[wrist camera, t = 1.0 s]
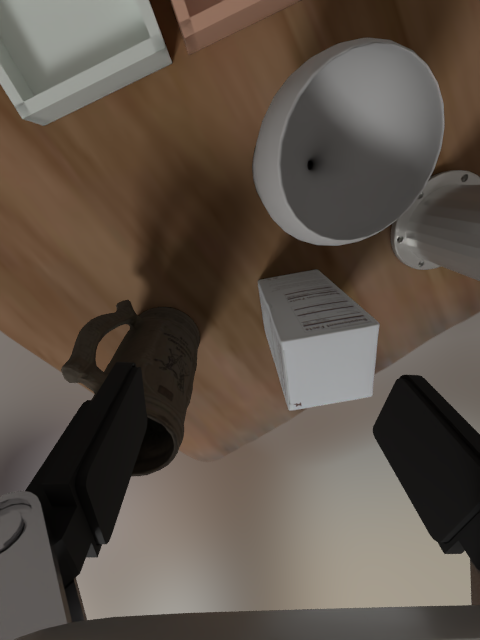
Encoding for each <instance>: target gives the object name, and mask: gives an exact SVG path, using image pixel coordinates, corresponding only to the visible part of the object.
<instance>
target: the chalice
mask: <svg viewBox="0 0 480 640" xmlns="http://www.w3.org/2000/svg"><path fill="white" fill-rule="evenodd" d="M443 132H444V104H443V100H442V97H441V93H440V89H439V85H438V82H437V81H436V79H435V77H434V75H433V73H432V72H431V70H430V68H429V66H428V65H427V64H426V63H425V62H424V61H423V60H422V59H421V58H420V57H419V56H418V55H417V54H416V53H415V52H414V51H413V50H411V49H409V48H406V47H404V46H402V45H400V44H398V43H396V42H394V41H391V40H386V39H377V38H360V39H356V40H351V41H347V42H342V43H339V44H336V45H334V46H332V47H330V48H328V49H326V50H324V51H322V52H320V53H319V54H317V55H315V56H313V57H311V58H310V59H309V60H307V61H306V62H305V63H304V64H303V65H302V66H300V67H299V68H298V69H297V70H296V71H295V72H294V73H293V74H291V75H290V76H289V77H288V79H287V80H286V81H285V83H284V84H283V85H282V87H281V88H280V89H279V91H278V92H277V93H276V95H275V96H274V98H273V100H272V102H271V104H270V106H269V108H268V110H267V113H266V115H265V117H264V119H263V121H262V125H261V128H260V132H259V136H258V139H257V143H256V148H255V151H254V156H253V165H252V168H253V180H254V183H255V187H256V191H257V193H258V195H259V196H260V198H261V200H262V202H263V204H264V206H265V208H266V209H267V211H268V213H269V214H270V216H271V218H272V219H273V220H274V221H275V222H276V223H277V224H278V225H279V226H280V227H281V228H282V229H283V230H284V231H285V232H286V233H288V234H290V235H292V236H293V237H295V238H297V239H298V240H301V241H305V242H308V243H311V244H315V245H329V246H339V245H344V244H349V243H354V242H358V241H361V240H363V239H366V238H368V237H370V236H373V235H375V234H377V233H379V232H380V231H382V230H383V229H385V228H386V227H388V226H389V225H391V224H392V223H394V222H395V221H396V220H397V219H398V218H400V217H401V216H402V215H403V214H404V213H405V212H406V211H407V210H408V209H409V208H410V207H411V206H412V204H413V203H414V202H415V200H416V199H417V198H418V196H419V195H420V193H421V192H422V191H423V189H424V188H425V186H426V184H427V182H428V180H429V178H430V176H431V174H432V172H433V170H434V168H435V165H436V162H437V159H438V156H439V153H440V150H441V146H442V139H443Z"/></svg>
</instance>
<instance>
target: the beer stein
mask: <svg viewBox="0 0 480 640" xmlns="http://www.w3.org/2000/svg"><path fill="white" fill-rule="evenodd" d="M116 307H117V311H116V312H115V313H110V314H105V315H101V316H98V317H96V318H94V319H92V320H91V321H89V322H88V323H87V324H86V325H85V326H84V327H83V328H82V329H81V331H80V332H79V334H78V337H77V339H76V342H75V345H74V348H73V352H72V355H71V357H70V359H69V360H68V361H67V362H66V363H65V364H64V365H63V367H62V369H61V371H62V374H63V376H64V378H65V379H66V380H67V381H68V382H69V383H82V384H84V385H85V386H86V387H88V388H89V389H91V390H92V391H94V393H95V395H96V394H97V392H98V391H99V389H100V387H101V386H102V384H103V383H104V381H105V379H106V378H107V376H108V374H109V373H110V371H111V370H112V368H113V366H114V365H115V363H116V362H134V363H135V364H136V367H141V370H142V379H143V387H144V395H145V404H146V412H147V429H146V432H145V435H144V438H143V441H142V444H141V447H140V451H139V454H138V457H137V460H136V463H135V466H134V469H133V472H132V475H131V476H142V475H148V474H151V473H153V472H156V471H158V470H161V469H162V468H164V467H165V466H167V465H168V464H169V463H170V462H171V461H172V460H173V459H174V458H175V456H176V454H177V453H178V450H179V447H180V445H181V443H182V440H183V436H184V421H185V415H186V410H187V407H188V405H189V403H190V399H191V394H192V390H193V380H194V374H195V371H196V366H197V349H198V347H199V341H200V336H199V331H198V328H197V326H196V325H195V323H194V321H193V320H192V319H191V318H190V317H188V316H187V315H186V314H185V313H183V312H181V311H179V310H176V309H173V308H169V307H158V308H152V309H149V310H147V311H145V312H143V313H142V314H140V315H139V316H137V314H136V313H135V311H134V309H133V307H132V305H131V302H130V301H129V300H125V301H122V302H119V303H117V305H116ZM123 324H128V325H129V326H130V330H129V331H128V332H127V334H126V335H125V337H124V339H123V340H122V342H121V344H120V345H119V347H118V349H117V351H116V353H115V354H114V356H113V358H112V360H111V361H110V363H109V364H108V366H107V368H106V369H105V371H104V372H103V371H101V370H100V369H99V368H98V367H97V366H96V361H95V357H96V349H97V346H98V343H99V342H100V341H101V339H102V338H103V337H104V336H105V335H106V334H107V333H108V332H109V331H111V330H113V329H115V328H116V327H118V326H120V325H123ZM95 395H94V397H95ZM94 397H93V398H92V400H93V399H94Z"/></svg>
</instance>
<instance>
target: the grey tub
mask: <svg viewBox="0 0 480 640" xmlns="http://www.w3.org/2000/svg"><path fill="white" fill-rule="evenodd" d="M170 64H172V61H171V58H170V55H169V53H168V50H167V47H166V44H165V42H164V39H163V36H162V34H161V31H160V28H159V25H158V23H157V20H156V17H155V14H154V12H153V9H152V6H151V3H150V1H149V0H0V84H1V86H2V87H3V89H4V90H5V92H6V93H7V95H8V97H9V98H10V100H11V101H12V103H13V105H14V106H15V108H16V109H17V111H18V113H19V114H20V116H21V117H22V119H25V120H28V121H31V122H34V123H37V124H40V125H44V126H45V125H47V124H49V123H51V122H53V121H55V120H57V119H59V118H61V117H63V116H65V115H67V114H69V113H71V112H74V111H76V110H78V109H80V108H82V107H84V106H86V105H88V104H90V103H92V102H94V101H96V100H98V99H100V98H102V97H104V96H106V95H108V94H110V93H112V92H114V91H117V90H119V89H121V88H123V87H125V86H127V85H129V84H131V83H133V82H135V81H137V80H139V79H141V78H143V77H145V76H147V75H149V74H151V73H153V72H155V71H157V70H160V69H162V68H164V67H166V66H168V65H170Z"/></svg>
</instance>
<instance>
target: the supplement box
mask: <svg viewBox="0 0 480 640" xmlns="http://www.w3.org/2000/svg"><path fill="white" fill-rule="evenodd" d="M258 288H259V295H260V302H261V308H262V315H263V322H264V328H265V333H266V336H267V339H268V343H269V346H270V349H271V353H272V356H273V359H274V362H275V365H276V368H277V372H278V376H279V379H280V383H281V386H282V389H283V393H284V396H285V399H286V403H287V406H288V409H289V410H297V409H303V408H309V407H315V406H320V405H326V404H332V403H338V402H343V401H349V400H356V399H361V398H366V397H371V396H372V394H373V382H374V372H375V362H376V351H377V341H378V332H379V322H377V321H376V320H375V319H374V318H373V317H372V316H371V315H369V314H368V313H367V312H366V311H365V310H364V309H363V308H361V307H360V306H359V305H358V304H357V303H356V302H355V301H353V300H352V299H351V298H350V297H349V296H348V295H346V294H345V293H344V292H343V291H342V290H341V289H340V288H338V287H337V286H336V285H335V284H334V283H333V282H332V281H330V280H329V279H328V278H327V277H326V276H325V275H323V274H322V273H321V272H320V271H319V270H318V269H316V270H310V271H305V272H299V273H294V274H288V275H283V276H277V277H272V278H267V279H261V280H258Z"/></svg>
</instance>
